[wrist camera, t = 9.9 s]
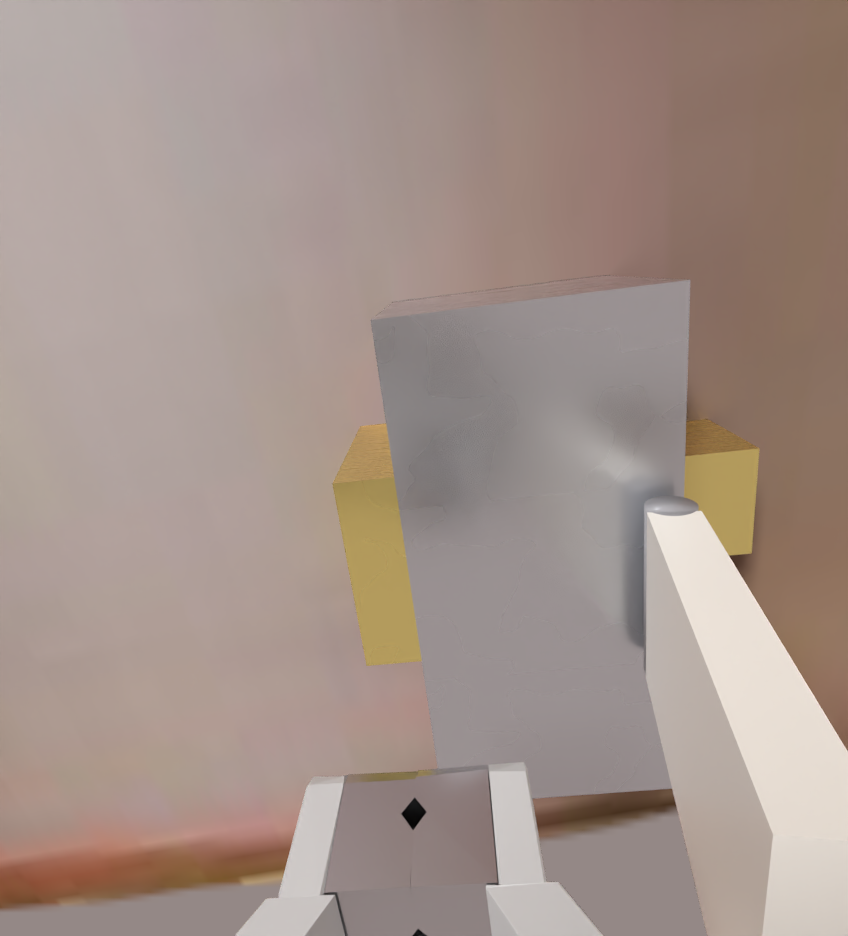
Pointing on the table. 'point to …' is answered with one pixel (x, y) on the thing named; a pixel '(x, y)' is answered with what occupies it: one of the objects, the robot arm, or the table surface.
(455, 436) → the block
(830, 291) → the table surface
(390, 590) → the lynch pin
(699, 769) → the bar
